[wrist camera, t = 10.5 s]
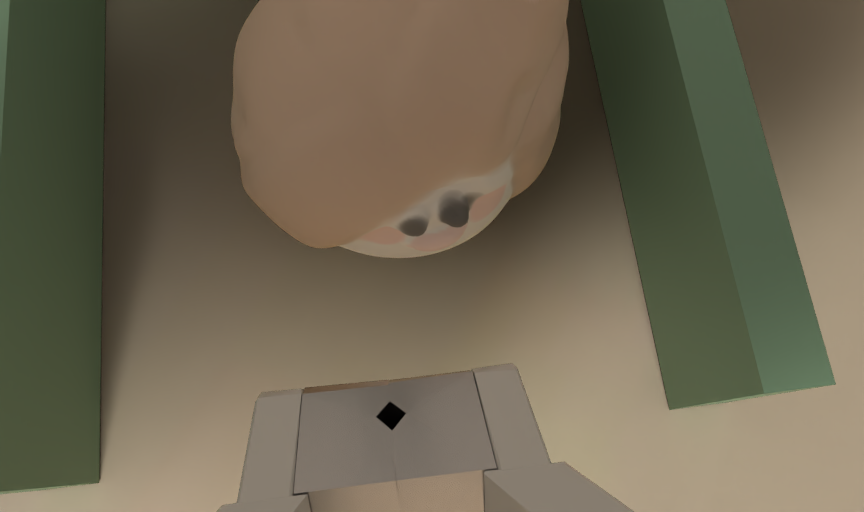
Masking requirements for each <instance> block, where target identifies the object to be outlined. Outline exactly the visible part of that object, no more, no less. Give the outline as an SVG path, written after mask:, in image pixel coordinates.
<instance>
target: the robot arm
mask: <svg viewBox="0 0 864 512" xmlns="http://www.w3.org/2000/svg"><path fill="white" fill-rule="evenodd" d="M216 512H634V511H632V510H631V509H630V508H628V507H627V506H625V505H624V504H623V503H621V502H620V501H618V500H617V499H616V498H614V497H613V496H612V495H610V494H609V493H607V492H606V491H605V490H603V489H602V488H600V487H599V486H598V485H596V484H595V483H593V482H592V481H591V480H589V479H588V478H586V477H585V476H584V475H582V474H581V473H580V472H578V471H577V470H575V469H574V468H573V467H571V466H570V465H568V464H567V463H566V462H558V463H551V461H550V458H549V455H548V453H547V450H546V447H545V444H544V441H543V439H542V436H541V433H540V430H539V427H538V425H537V422H536V419H535V416H534V413H533V411H532V408H531V405H530V402H529V399H528V397H527V394H526V391H525V388H524V385H523V383H522V380H521V377H520V374H519V371H518V369H517V367H516V366H515V365H514V364H512V363H510V364H503V365H495V366H488V367H481V368H474V369H472V370H471V371H470V370H468V371H460V372H452V373H443V374H435V375H427V376H419V377H411V378H402V379H394V380H381V381H370V382H360V383H349V384H338V385H328V386H317V387H306V388H305V389H291V390H281V391H272V392H262V393H261V394H260V395H259V397H258V398H257V400H256V401H255V407H254V412H253V417H252V423H251V428H250V434H249V439H248V445H247V450H246V455H245V461H244V466H243V472H242V477H241V482H240V488H239V493H238V499H237V503H234V504H226V505H222V506H221V507H220V508H219V509H218V510H217V511H216Z"/></svg>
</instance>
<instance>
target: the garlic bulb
mask: <svg viewBox="0 0 864 512" xmlns="http://www.w3.org/2000/svg"><path fill="white" fill-rule="evenodd" d="M568 6H569V0H260V1H259V2H258V3H257V4H256V6H255V7H254V8H253V10H252V12H251V13H250V15H249V16H248V18H247V20H246V21H245V23H244V25H243V27H242V29H241V31H240V33H239V36H238V39H237V42H236V46H235V52H234V60H233V100H232V108H231V130H232V136H233V140H234V145H235V149H236V152H237V154H238V157H239V159H240V170H241V181H242V185H243V187H244V189H245V191H246V193H247V194H248V196H249V197H250V198H251V199H252V200H253V201H254V202H255V204H256V205H257V206H258V207H259V208H260V209H261V210H262V211H263V212H264V213H265V214H266V215H267V216H268V217H269V218H270V219H271V220H272V221H273V222H274V223H275V224H277V225H278V226H279V227H280V228H281V229H282V230H284V231H285V232H286V233H288V234H289V235H291V236H292V237H294V238H295V239H296V240H298V241H300V242H301V243H303V244H305V245H307V246H310V247H314V248H330V247H335V246H340V247H343V248H345V249H348V250H351V251H354V252H358V253H362V254H366V255H371V256H377V257H385V258H411V257H420V256H426V255H431V254H435V253H439V252H442V251H445V250H448V249H451V248H453V247H455V246H458V245H460V244H462V243H464V242H465V241H467V240H469V239H471V238H472V237H474V236H475V235H477V234H478V233H479V232H481V231H482V230H483V229H484V228H485V227H487V226H488V225H489V224H490V223H491V222H492V221H493V220H494V219H495V218H496V216H497V215H498V214H499V213H500V212H501V210H502V209H503V208H504V206H505V205H506V203H507V202H508V200H509V199H511V198H513V197H515V196H517V195H518V194H520V193H521V192H523V191H524V190H525V189H527V188H528V187H529V186H530V185H531V184H532V183H533V182H534V181H535V180H536V178H537V177H538V176H539V174H540V173H541V171H542V170H543V168H544V166H545V165H546V163H547V161H548V159H549V157H550V154H551V152H552V149H553V147H554V144H555V141H556V137H557V134H558V130H559V125H560V119H561V107H560V106H561V103H562V99H563V94H564V88H565V82H566V77H567V72H568V67H569V41H568V31H567V25H566V19H567V14H568Z"/></svg>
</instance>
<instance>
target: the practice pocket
mask: <svg viewBox="0 0 864 512" xmlns="http://www.w3.org/2000/svg"><path fill="white" fill-rule="evenodd" d="M581 4H582V9H583V13H584V18H585V23H586V27H587V32H588V36H589V41H590V46H591V50H592V55H593V59H594V64H595V69H596V73H597V78H598V82H599V87H600V92H601V96H602V101H603V106H604V110H605V115H606V119H607V124H608V129H609V133H610V138H611V142H612V147H613V152H614V156H615V161H616V165H617V170H618V175H619V179H620V184H621V188H622V193H623V198H624V202H625V207H626V211H627V216H628V221H629V225H630V230H631V234H632V239H633V244H634V248H635V253H636V257H637V262H638V267H639V271H640V276H641V281H642V285H643V290H644V294H645V299H646V304H647V308H648V313H649V317H650V322H651V327H652V331H653V336H654V340H655V345H656V350H657V354H658V359H659V363H660V368H661V373H662V377H663V382H664V386H665V391H666V396H667V400H668V405H669V409H670V410H672V409H680V408H688V407H695V406H703V405H711V404H719V403H726V402H732V401H738V400H744V399H750V398H756V397H762V396H768V395H775V394H781V393H787V392H793V391H799V390H805V389H811V388H817V387H823V386H829V385H835V384H836V383H835V380H834V377H833V373H832V370H831V366H830V363H829V359H828V356H827V352H826V349H825V345H824V342H823V338H822V335H821V331H820V328H819V324H818V321H817V317H816V314H815V310H814V307H813V303H812V300H811V296H810V293H809V290H808V286H807V283H806V279H805V276H804V272H803V269H802V265H801V262H800V258H799V255H798V251H797V248H796V244H795V241H794V237H793V234H792V230H791V227H790V223H789V220H788V216H787V213H786V209H785V206H784V202H783V199H782V196H781V192H780V189H779V185H778V182H777V178H776V175H775V171H774V168H773V164H772V161H771V157H770V154H769V150H768V147H767V143H766V140H765V136H764V133H763V129H762V126H761V122H760V119H759V115H758V112H757V109H756V105H755V102H754V98H753V95H752V91H751V88H750V84H749V81H748V77H747V74H746V70H745V67H744V63H743V60H742V56H741V53H740V49H739V46H738V42H737V39H736V35H735V32H734V28H733V25H732V21H731V18H730V15H729V11H728V8H727V4H726V1H725V0H581ZM104 76H105V0H0V494H7V493H18V492H28V491H38V490H46V489H54V488H62V487H70V486H77V485H85V484H93V483H99V457H100V381H101V305H102V229H103V152H104Z"/></svg>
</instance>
